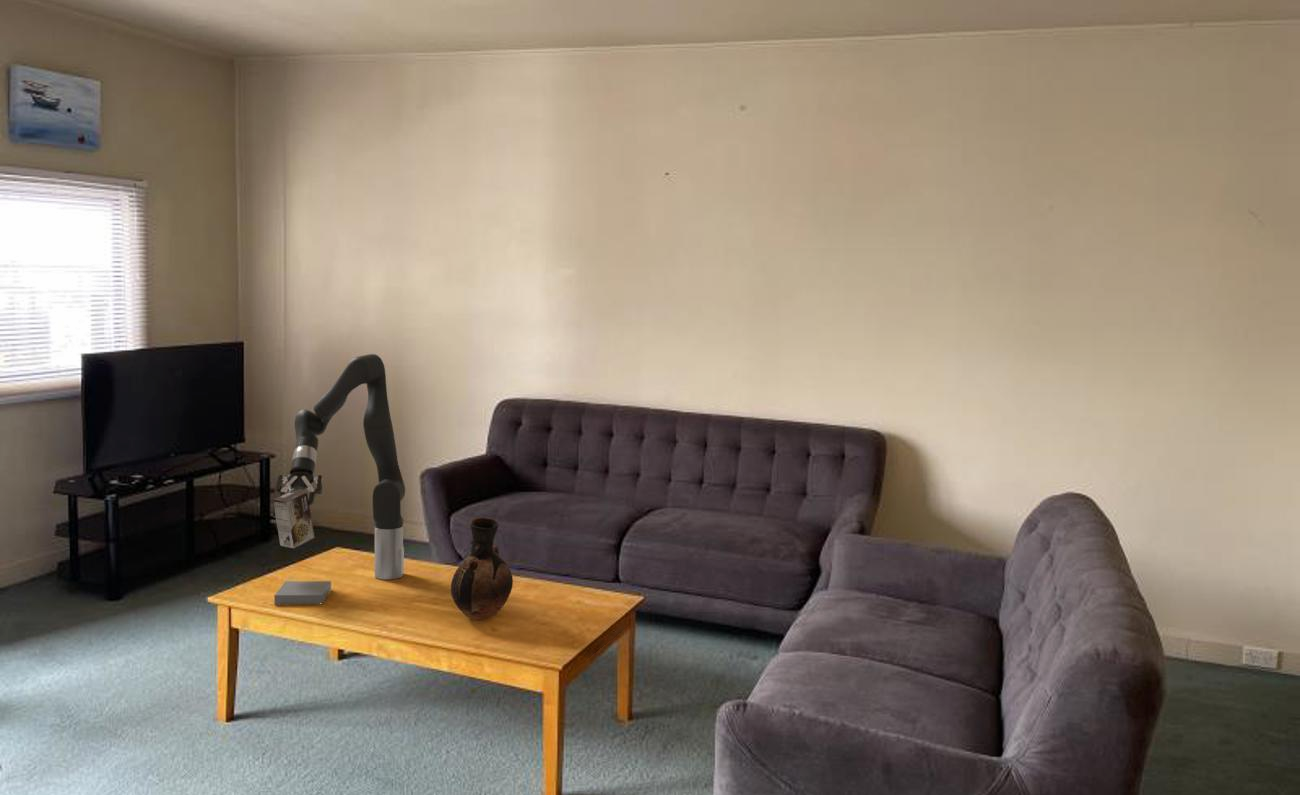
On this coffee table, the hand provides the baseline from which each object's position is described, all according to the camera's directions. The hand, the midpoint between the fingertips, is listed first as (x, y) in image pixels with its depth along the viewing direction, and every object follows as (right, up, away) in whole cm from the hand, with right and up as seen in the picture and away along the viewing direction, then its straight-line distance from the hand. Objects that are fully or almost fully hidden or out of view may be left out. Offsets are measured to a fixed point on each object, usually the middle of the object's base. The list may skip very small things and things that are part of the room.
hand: (296, 504), depth 313 cm
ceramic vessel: (+64, -32, -21) cm, 74 cm away
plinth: (+6, -28, -9) cm, 30 cm away
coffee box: (0, -13, +1) cm, 13 cm away
